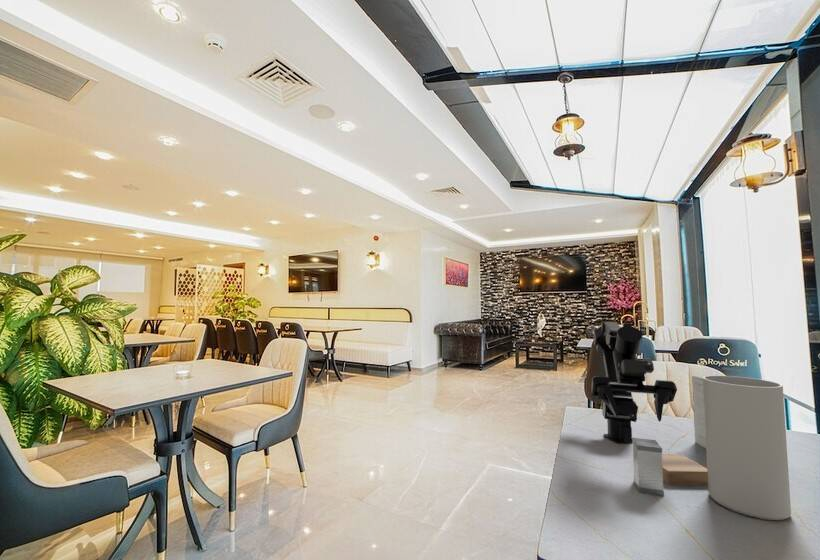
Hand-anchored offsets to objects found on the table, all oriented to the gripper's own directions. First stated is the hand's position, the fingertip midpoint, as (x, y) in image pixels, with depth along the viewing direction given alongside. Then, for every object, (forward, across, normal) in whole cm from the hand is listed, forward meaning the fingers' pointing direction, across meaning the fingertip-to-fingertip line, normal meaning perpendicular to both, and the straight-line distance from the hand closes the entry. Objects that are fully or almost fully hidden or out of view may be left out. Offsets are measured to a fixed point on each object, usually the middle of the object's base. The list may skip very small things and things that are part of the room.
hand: (638, 418), depth 91 cm
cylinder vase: (+15, +18, +4) cm, 24 cm away
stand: (+8, +8, +11) cm, 16 cm away
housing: (+15, 0, +4) cm, 15 cm away
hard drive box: (-8, +26, +27) cm, 38 cm away
